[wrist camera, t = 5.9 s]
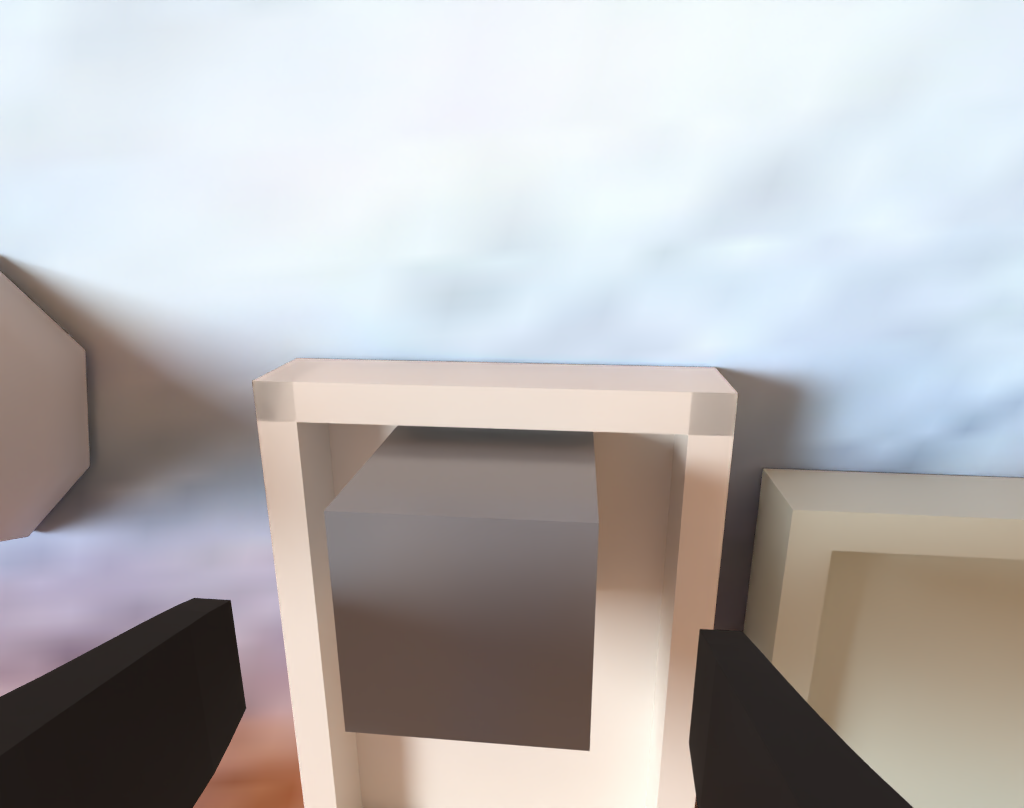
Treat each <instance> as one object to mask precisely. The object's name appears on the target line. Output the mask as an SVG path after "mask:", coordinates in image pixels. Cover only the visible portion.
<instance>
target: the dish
mask: <svg viewBox="0 0 1024 808" xmlns="http://www.w3.org/2000/svg"><path fill="white" fill-rule="evenodd" d="M252 385H253V393H254V401H255V409H256V418H257V426H258V434H259V442H260V450H261V458H262V466H263V474H264V483H265V491H266V499H267V507H268V515H269V523H270V531H271V539H272V548H273V556H274V564H275V572H276V580H277V588H278V596H279V604H280V613H281V621H282V629H283V637H284V645H285V653H286V661H287V670H288V678H289V686H290V694H291V702H292V710H293V718H294V726H295V735H296V743H297V751H298V759H299V767H300V775H301V783H302V791H303V800H304V808H695V798H696V792H695V785H694V778H693V771H692V764H691V756H690V749H689V734H690V724H691V713H692V703H693V693H694V682H695V672H696V661H697V651H698V641H699V630H700V629H710V630H713V628H714V618H715V609H716V599H717V590H718V580H719V571H720V561H721V552H722V542H723V533H724V524H725V514H726V505H727V495H728V486H729V476H730V467H731V457H732V448H733V438H734V429H735V419H736V410H737V400H738V393H737V392H736V390H735V389H734V388H733V387H732V386H731V385H730V384H729V382H728V381H727V380H726V379H725V378H724V377H723V376H722V375H721V373H720V372H719V371H718V370H717V369H716V368H715V367H675V366H630V365H584V364H539V363H493V362H447V361H402V360H356V359H311V358H296V359H294V360H292V361H290V362H288V363H286V364H284V365H282V366H280V367H278V368H276V369H274V370H273V371H271V372H269V373H267V374H265V375H263V376H261V377H259V378H257V379H255V380H253V381H252ZM398 425H402V426H434V427H465V428H496V429H527V430H558V431H589V432H593V436H594V452H595V468H596V484H597V500H598V516H599V534H598V559H597V584H596V608H595V633H594V658H593V683H592V707H591V732H590V751H581V750H568V749H556V748H543V747H531V746H518V745H506V744H493V743H481V742H468V741H456V740H443V739H431V738H418V737H406V736H393V735H381V734H368V733H356V732H345V723H344V713H343V703H342V692H341V682H340V672H339V661H338V651H337V641H336V631H335V620H334V610H333V600H332V589H331V579H330V569H329V558H328V548H327V538H326V528H325V517H324V510H325V509H326V508H327V507H328V506H329V504H330V503H331V502H332V501H333V500H334V499H335V497H336V496H337V495H338V494H339V493H340V492H341V490H342V489H343V488H344V487H345V486H346V485H347V484H348V482H349V481H350V480H351V479H352V478H353V477H354V475H355V474H356V473H357V472H358V471H359V470H360V468H361V467H362V466H363V465H364V464H365V463H366V462H367V460H368V459H369V458H370V457H371V456H372V455H373V453H374V452H375V451H376V450H377V449H378V448H379V446H380V445H381V444H382V443H383V442H384V441H385V439H386V438H387V437H388V436H389V435H390V434H391V433H392V431H393V430H394V429H395V428H396V427H397V426H398Z"/></svg>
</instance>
